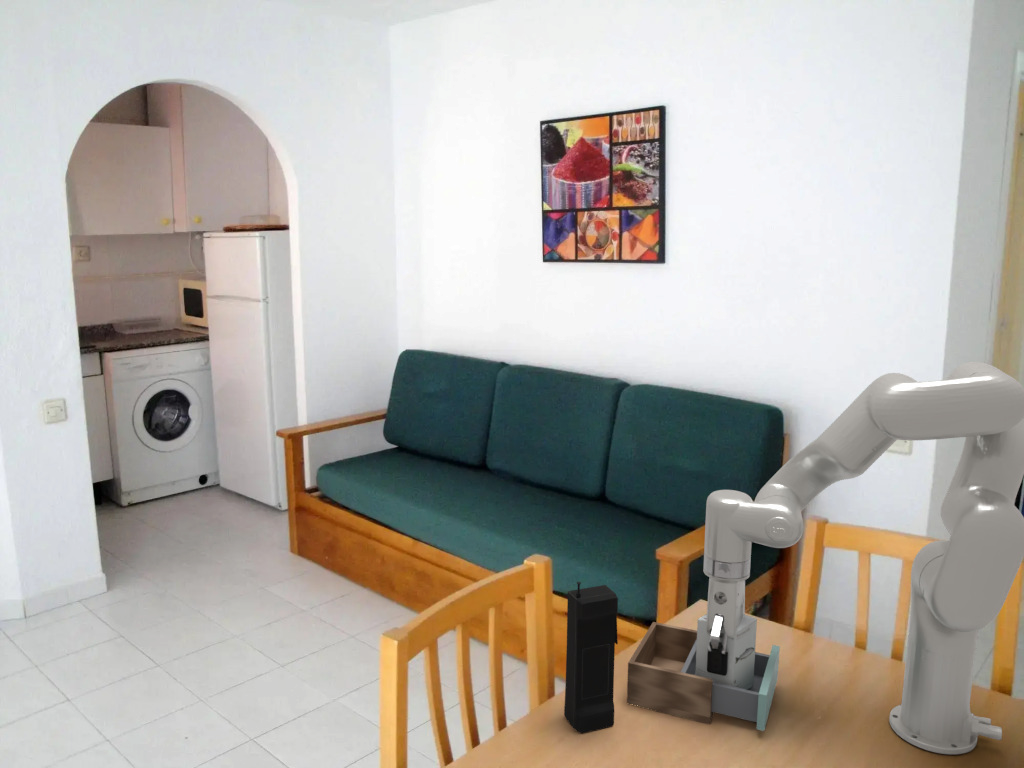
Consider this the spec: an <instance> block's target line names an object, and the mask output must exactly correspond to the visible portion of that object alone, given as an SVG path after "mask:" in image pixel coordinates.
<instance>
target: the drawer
mask: <svg viewBox="0 0 1024 768" xmlns="http://www.w3.org/2000/svg"><path fill="white" fill-rule="evenodd" d="M696 648H697V640H696V641H695V643H694V645H693V647H692V649H691V651H690V653H689V656H688V658H687V660H686V662H685V664H684V666H683V668H682V670H681V672H683V673H687V674H692V675H695V670H696ZM780 648H781V647H780V645H776V644H772V646H771V649H770V653H769V654H766V653H761V652H757V651H755V663H754V679H753V686H752V687H751V688H749V689H748V690H745V689H741V688H737V687H732V686H728V685H723V684H719V683H714V682H713V685H712V704H711V711H712V712H714V713H715V714H716V713H717V714H720V715H724V716H729V717H733V718H737V719H742V720H746V721H750V722H753V723H754V722H755V723H756V728H755V729H756V730H759V731H762V732H765V729H766V726H767V721H768V718H769V714H770V710H771V706H772V703H773V698H774V694H775V690H776V685H777V683H778V679H779V678H778V677H779V664H780V662H779V661H780Z"/></svg>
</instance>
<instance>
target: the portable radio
mask: <svg viewBox="0 0 1024 768" xmlns="http://www.w3.org/2000/svg"><path fill="white" fill-rule="evenodd" d="M576 584H577V589H573V590H569V591H567V605H566V606H567V608H566V610H567V611H566V612H567V615H566V618H567V619H566V657H565V658H566V659H565V661H566V662H565V686H564V687H565V689H564V690H565V691H564V708H563V709H564V710H563V711H564V712H563V713H564V719H566V720H567V723H568V724H569V725H570V726H571V727H572V728H573V730H575V731H576V732H578V733H579V734H586V733H589V732H593V731H597V730H603V729H606V728H610V727H613V726H614V724H615V703H614V691H615V690H614V684H615V683H614V682H615V678H614V677H615V654H616V653H615V646H616V645H618V643H619V642H618V641H619V640H618V617H617V615H618V608H619V607H618V605H619V598H618V596H617V594H616V593H615V592H614V591H613V590H612V589H611V588H610V587H609V586H608V585H605V584H602V585H597V586H591V587H586V588H581V584H582V582H581V581H577V582H576Z"/></svg>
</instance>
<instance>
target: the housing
mask: <svg viewBox="0 0 1024 768" xmlns="http://www.w3.org/2000/svg"><path fill="white" fill-rule="evenodd" d="M696 640H697V630H696V629H691V628H685V627H681V626H676V625H673V624H672V625H671V624H666V623H661V622H658V621H656V622H655V621H652V623H651V625H650V626H649V627H648V629H647V631H646V633H645V635H644V636H643V638H642V639H641V641H640V643H639V644H638V646H637V647H636V649H635V651H634V652H633V654H632V656H630V659H629V661H628V662H627V682H626V683H627V684H626V685H627V686H626V687H627V688H626V704H627V703H629V704H628V705H630V704H633V705H632V706H634V705H636V706H635V707H638V706H640V707H639V708H642V707H644V708H643V709H646V708H649V709H648V710H650V709H652V710H651V711H654V710H656V711H655V712H658V711H659V713H662V712H663V713H662V714H667V715H671V716H675V717H679V718H683V719H687V720H690V721H695V722H700V723H704V724H707V725H711V722H712V718H713V716H714V714H715V712H712V711H711V704H712V685H713V679H709V678H705V677H701V676H696V675H692V674H687V673H683V672H681V670H682V668H683V666H684V664H685V662H686V660H687V658H688V656H689V653H690V651H691V649H692V647H693V645H694V643H695V641H696ZM637 705H638V706H637Z"/></svg>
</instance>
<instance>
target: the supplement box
mask: <svg viewBox="0 0 1024 768" xmlns="http://www.w3.org/2000/svg"><path fill="white" fill-rule="evenodd" d="M723 622H724V621H723ZM757 625H758V619H757V618H755V617H754V616H750V615H747V614H746V613H745V614H744V615H743V617H742V620H741V623H740V625H739V627H738V629H737V631H736V633H735V638H734V639H732V638H727V649H726V652H728V662H727V674H726V675H725V676H723V675H718V674H714V673H709V672H708V671H707V655H708V647H709V640H710V635H709V634H708V633H707V613H706V614H704V615H703V616H700V617H699V618H698V619H697V630H696V631H697V648H696V670H695V675H696V676H701V677H705V678H709V679H713V682H714V683H719V684H723V685H728V686H732V687H737V688H741V689H745V690H748V689H749V688H751V687H752V686H753V679H754V663H755V652H756V645H757ZM710 630H711V629H710ZM721 633H723V634H725V633H726V632H725V629H724V626H722V630H721ZM723 640H724V638H720V642H722V645H723Z"/></svg>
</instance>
